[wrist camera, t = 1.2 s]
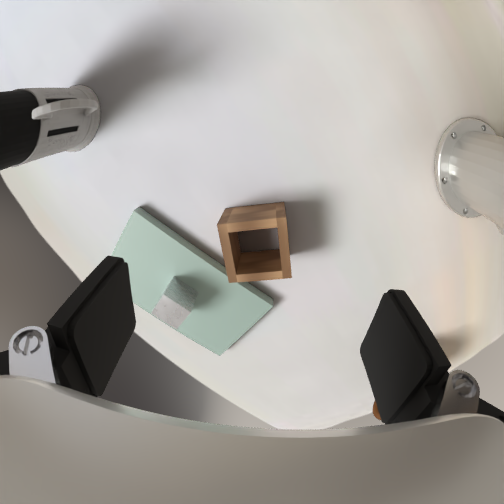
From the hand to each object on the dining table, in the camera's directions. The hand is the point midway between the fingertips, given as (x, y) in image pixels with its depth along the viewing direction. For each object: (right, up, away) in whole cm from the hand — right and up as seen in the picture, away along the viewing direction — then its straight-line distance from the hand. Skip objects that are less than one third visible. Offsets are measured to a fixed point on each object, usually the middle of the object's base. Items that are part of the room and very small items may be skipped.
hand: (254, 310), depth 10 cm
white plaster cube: (-9, -3, +25) cm, 26 cm away
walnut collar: (+1, +4, +22) cm, 22 cm away
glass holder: (-19, +18, +17) cm, 32 cm away
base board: (-9, -2, +26) cm, 28 cm away
